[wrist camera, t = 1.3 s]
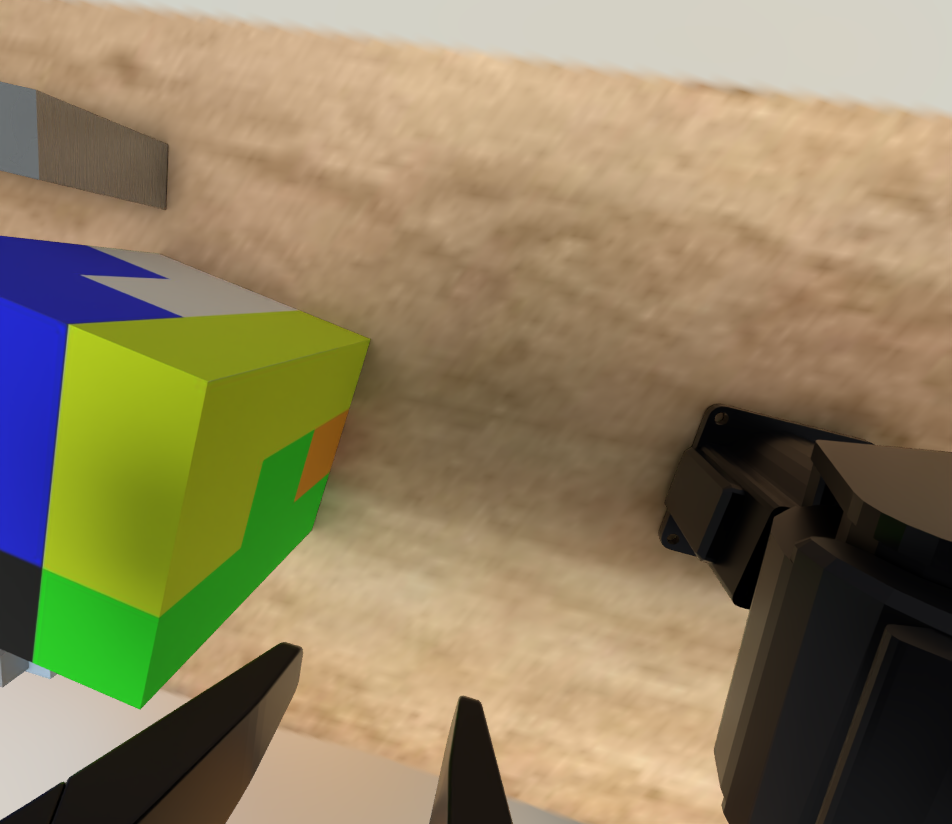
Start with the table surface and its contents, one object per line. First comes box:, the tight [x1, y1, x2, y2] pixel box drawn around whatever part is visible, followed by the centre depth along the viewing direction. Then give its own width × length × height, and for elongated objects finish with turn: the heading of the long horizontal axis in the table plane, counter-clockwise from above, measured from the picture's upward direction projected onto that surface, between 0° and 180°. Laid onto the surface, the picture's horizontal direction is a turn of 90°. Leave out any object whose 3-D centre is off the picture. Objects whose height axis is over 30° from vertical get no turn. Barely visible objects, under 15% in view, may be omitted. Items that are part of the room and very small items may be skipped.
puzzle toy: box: [0, 236, 371, 709], centre depth 16 cm, size 10×10×10 cm
